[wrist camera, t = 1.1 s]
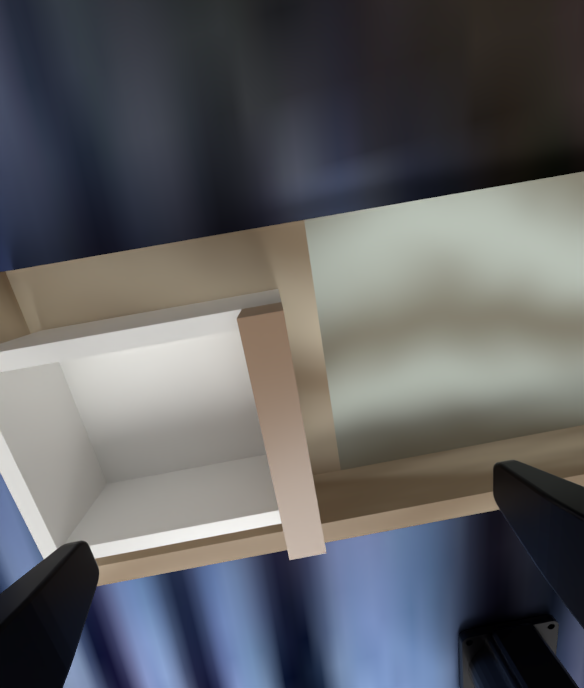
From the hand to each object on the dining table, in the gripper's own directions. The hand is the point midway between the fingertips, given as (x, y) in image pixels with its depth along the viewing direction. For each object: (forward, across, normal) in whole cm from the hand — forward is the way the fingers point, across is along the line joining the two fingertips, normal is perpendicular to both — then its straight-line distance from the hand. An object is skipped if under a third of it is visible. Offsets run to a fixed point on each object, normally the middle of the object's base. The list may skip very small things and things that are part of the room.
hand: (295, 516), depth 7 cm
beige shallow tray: (+9, -3, 0) cm, 9 cm away
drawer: (+8, +4, 0) cm, 9 cm away
